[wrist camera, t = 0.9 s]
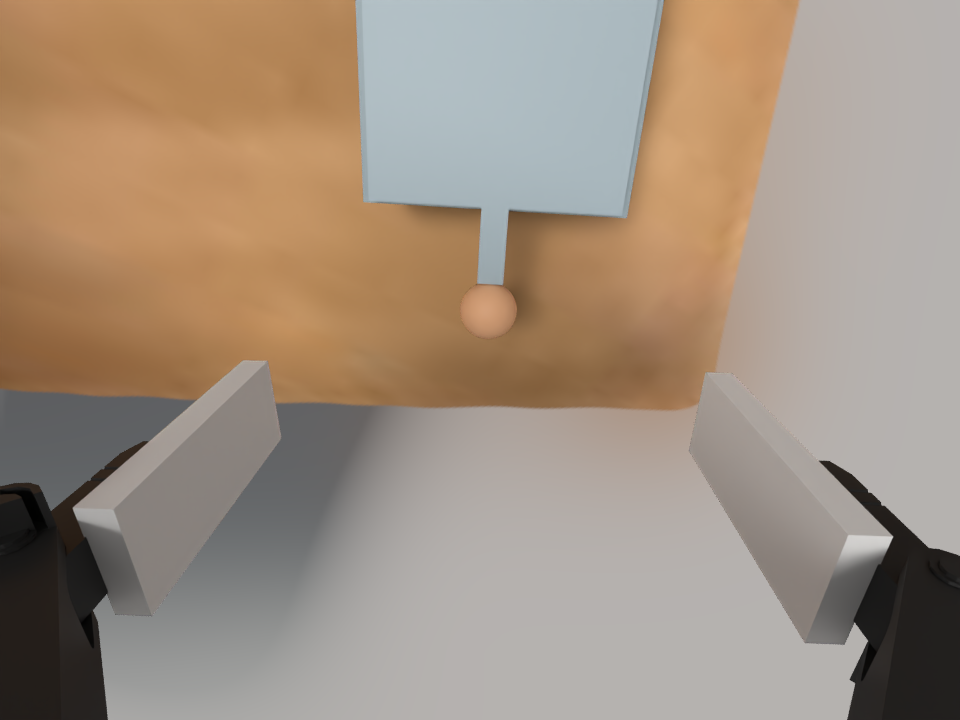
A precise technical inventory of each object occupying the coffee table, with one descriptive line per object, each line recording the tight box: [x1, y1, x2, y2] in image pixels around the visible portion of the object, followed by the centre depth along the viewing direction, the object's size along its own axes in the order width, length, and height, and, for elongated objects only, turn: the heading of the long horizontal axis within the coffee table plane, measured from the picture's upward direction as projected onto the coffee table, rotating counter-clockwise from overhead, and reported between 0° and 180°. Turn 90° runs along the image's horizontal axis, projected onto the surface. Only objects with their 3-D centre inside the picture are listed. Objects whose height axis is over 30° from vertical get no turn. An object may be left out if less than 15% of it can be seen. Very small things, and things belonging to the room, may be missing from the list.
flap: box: [362, 0, 658, 339], centre depth 25 cm, size 13×20×3 cm, turn 177°
